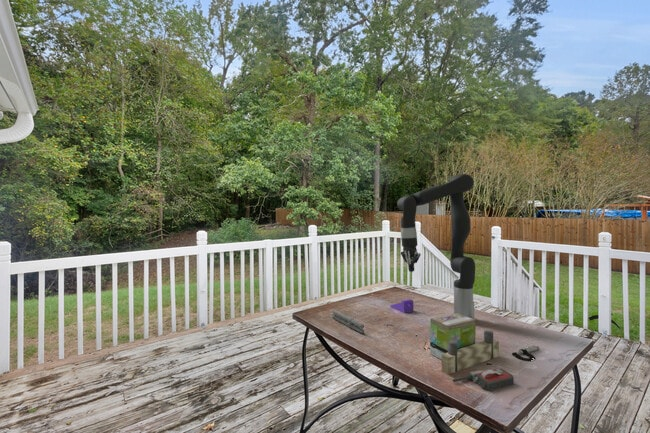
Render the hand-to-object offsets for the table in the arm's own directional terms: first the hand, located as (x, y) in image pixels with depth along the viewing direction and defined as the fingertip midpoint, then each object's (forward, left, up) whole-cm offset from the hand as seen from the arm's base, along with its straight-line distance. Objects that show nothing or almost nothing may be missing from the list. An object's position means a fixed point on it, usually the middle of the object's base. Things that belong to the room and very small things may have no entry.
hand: (411, 271), depth 161 cm
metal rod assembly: (+28, -16, -28) cm, 42 cm away
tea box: (+8, +32, -27) cm, 43 cm away
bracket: (-13, -22, -28) cm, 38 cm away
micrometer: (-18, +47, -28) cm, 58 cm away
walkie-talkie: (+16, +52, -28) cm, 61 cm away
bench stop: (+8, +40, -27) cm, 49 cm away
